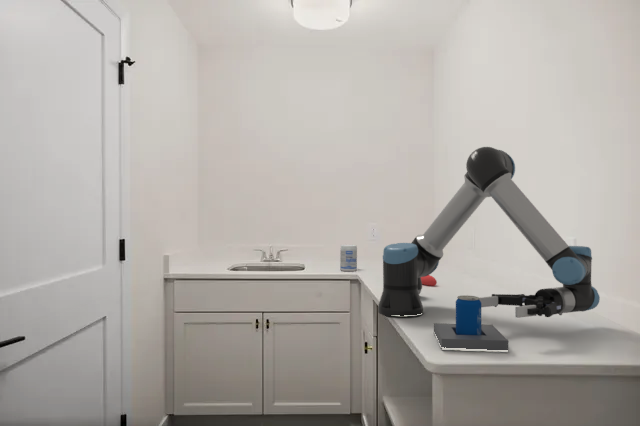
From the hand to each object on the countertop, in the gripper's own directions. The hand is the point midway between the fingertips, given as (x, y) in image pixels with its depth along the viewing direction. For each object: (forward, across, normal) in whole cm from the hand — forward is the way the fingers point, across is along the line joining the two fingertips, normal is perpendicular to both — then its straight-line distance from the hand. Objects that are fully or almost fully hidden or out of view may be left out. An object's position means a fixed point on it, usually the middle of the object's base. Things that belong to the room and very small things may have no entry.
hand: (497, 307), depth 127 cm
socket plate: (+10, 0, -9) cm, 13 cm away
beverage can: (+10, 0, -9) cm, 13 cm away
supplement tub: (-26, +143, -9) cm, 146 cm away
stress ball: (-37, +82, -9) cm, 90 cm away
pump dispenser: (-12, +61, -9) cm, 63 cm away
